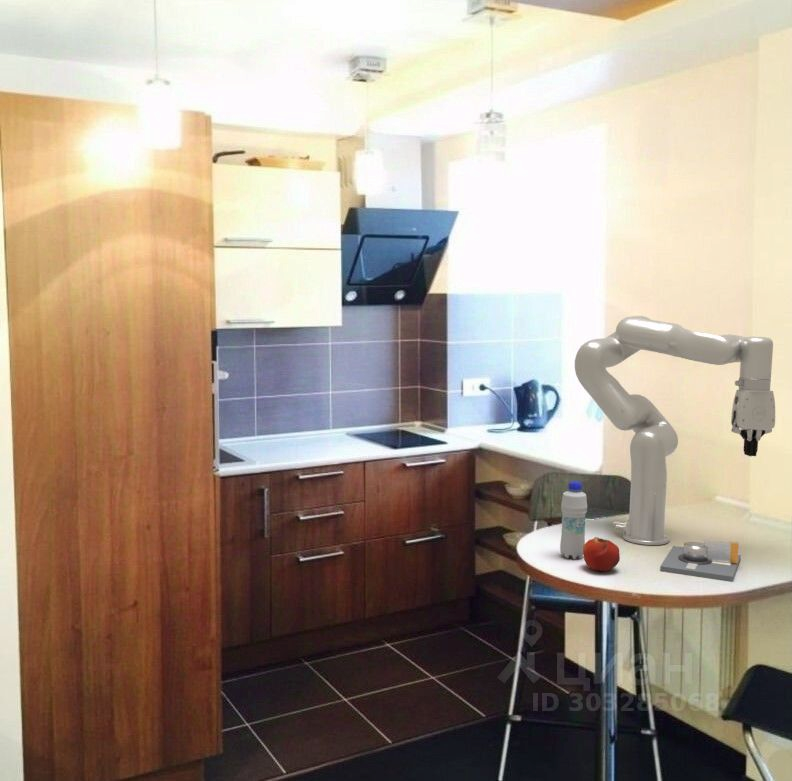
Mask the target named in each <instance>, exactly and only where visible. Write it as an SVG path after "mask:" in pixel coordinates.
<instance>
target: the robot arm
mask: <svg viewBox="0 0 792 781" xmlns="http://www.w3.org/2000/svg"><path fill="white" fill-rule="evenodd" d="M641 350H642V351H647V352H653V353H658V354H663V355H669V356H670V357H671V356H672V357H674V358H675V357H676V358H681V359H685V360H689V361H693V362H699V363H702V364H703V363H704V364H708V365H715V366H722V365H727V364H733V363H740V365H739V377H738V380H735V381H734V386H737V387H738V389H736V392H735V394H734V398H733V403H732V408H731V418H730V419H731V420H730V422H731V423H730V424H731V433H734V434H738V435H740V436H741V439H743V453H744V455H745V456H747V457H757V452H758V448H759V446H758V445H759V442H760V440H761V438H762V437H763V436H764V435H767V434H769V433H770V434H771V433H772V432H773V429H774V428H775V427H776V426H775V425H776V400H775V395H774V391H773V390H771V386H772V385H771V382H772V369H773V368H772V367H773V352H774V351H773V350H774V342H773V339H772V338H770V337H765V336H743V335H736V334H729V333H728V334H721V335H720V334H719V335H716V334H710V333H704V332H698V331H694V330H691V329H690V330H689V329H687V328H684V327H683V326H682V325H680V324H678V323H674V322H666V321H660V320H654V319H650V318H649V317H647V316H644V315H634V316H626V317H624V318H623V319H621V320H620V321H619V322H618V323H617V325H616V327H615V331H614V332H612V333H610V335H608V336H606V337H604V338H596V339H590V340H588V341H586V342H584V343H583V344H582V345H581V346H580V347H579V348H578V350H577V352H576V355H575V358H574V371H575V374H576V375H575V376H576V377H577V380H578V382H579V384H580V385H581V386H582V388H584V390H585V391H586V392H587V394H588V395H589V396H590V398H592V399H593V401H594V402H595V404H596V405H597V406H598V407H599V409H601V411H602V412H603V414H605V416H606V418H608V419H609V421H610V422H611V423H612V425H613V426H614V427H615V428H616V429H618V430H621V431H631V430H632V431H633V432H634V433H635V434H634V435H633V436H632V438H631V441H630V445H629V455H630V494H629V495H630V496H629V514H628V517H629V518H628V520H625V521H620V520H613V522H612V523H613V525H612V526H613V528H615V529H616V530H623V533H622V539H624V540H626V541H627V542H628V543H629V542H630V543H633V544H636V545H643V546H644V545H645V546H661V545H666V544H668V543H669V542H670V536H669V535H668V534H667V533H665V520H666V518H665V517H666V496H667V479H668V478H667V477H668V476H667V475H668V472H667V463H666V461H667V460H666V458H667V457H668V456H670V455H672V453H674V452H675V451H676V449H677V447H678V444H679V437H678V434H677V431H676V430H675V428H674V427H673V426H672V425H671V423H670V422H669V421H668V420H667V419H666V418H665V416H664V415H663V414H662V412H660V411H659V409H658V408H657V407H656V406H655V404H654V403H653V402H652V401H651V400H650V399H648V398H647V397H645V396H643V395H641V394H635V393H634V394H630V393H629V392H628V391H627V390H626V389H625V388H624V387H623V386H622V385H621V384H620V382H619V381H618V380H617V378H616V377H614V376H613V374H611V373H610V372H609V371H608V370H607V368H611V367H614V366H617V365H619V364H621V363H623V362H624V361H626V360H627V359H628V358H630V357H631V356H633V355H635V354H636V353H639V351H641Z"/></svg>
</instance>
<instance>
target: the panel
mask: <svg viewBox="0 0 792 781" xmlns="http://www.w3.org/2000/svg"><path fill="white" fill-rule="evenodd" d="M683 551H684V546H678V545H672V547H671V549H670V550H669V551H668V553H667V555H666V556H665V558H664V560H663V561H662V563H661V565H660V568H659V571H660V572H664V571H666V573H671V572H672V573H673V574H678V575H684V576H685V575H686V576H692V577H700V578H706V579H711V580H712V579H713V580H720V581H727V582H733V581H734V578H735V575H736V573H737V570H738V568H739V565H740V561H741V558H742V557H741V556H742V555H741V554H738V562H737V563H727V562H717V561H705V562H693V561H689V560H686V559H684V558H683ZM672 573H671V574H672Z"/></svg>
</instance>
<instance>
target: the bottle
mask: <svg viewBox="0 0 792 781" xmlns="http://www.w3.org/2000/svg"><path fill="white" fill-rule="evenodd" d="M582 489H583V484H582V483H581V482H580V481H577V480H571V481H570V482H569V483H568V490H566V491H564V492H563V494H562V499H561V503H560V504H561V505H560V507H561V509H560V510H561V514H562V515H561V536H560V544H559V545H560V547H559V549H560V550H559V551H560V555H561V556H562V558H563V557H564V558H566V559H570V556H572V557H571V558H572V560H576V559H579V560H580V559H581V558H583V557H584V555H583V546H584V544H585V543H586V541H585V540H586V538H585V535H586V534H585V533H586V531H585V530H586V514H587V512H588V501H587V494H586V493H585V492H584V491H582Z"/></svg>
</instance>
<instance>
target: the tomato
mask: <svg viewBox="0 0 792 781" xmlns="http://www.w3.org/2000/svg"><path fill="white" fill-rule="evenodd" d="M620 555H621V554H620V548H619V546H618V545H617V544H615V543H614V542H613V541H611V540H610V539H604V538H601V537H600V538H599V537H597V536H595V537H594V538H592V539H588V540H587V541H585V544H584V546H583V559H584V560H583V561H584V562H585V564H586V566H587V567H588V568H589V569H591V570H594V571H601V572H607V571H610V570H612V569H613V568H615V567H616V566H617V565H619V562H620V558H621V556H620Z"/></svg>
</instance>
